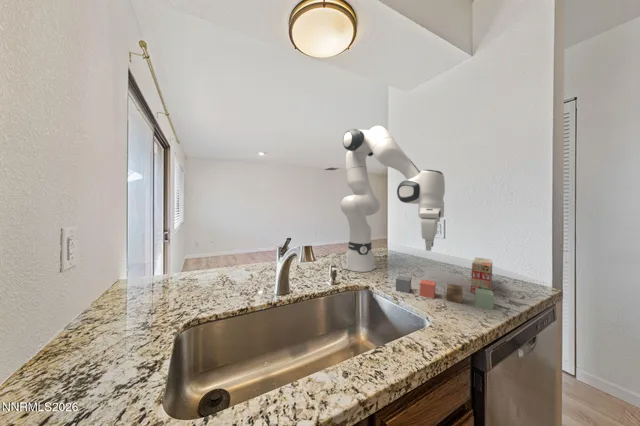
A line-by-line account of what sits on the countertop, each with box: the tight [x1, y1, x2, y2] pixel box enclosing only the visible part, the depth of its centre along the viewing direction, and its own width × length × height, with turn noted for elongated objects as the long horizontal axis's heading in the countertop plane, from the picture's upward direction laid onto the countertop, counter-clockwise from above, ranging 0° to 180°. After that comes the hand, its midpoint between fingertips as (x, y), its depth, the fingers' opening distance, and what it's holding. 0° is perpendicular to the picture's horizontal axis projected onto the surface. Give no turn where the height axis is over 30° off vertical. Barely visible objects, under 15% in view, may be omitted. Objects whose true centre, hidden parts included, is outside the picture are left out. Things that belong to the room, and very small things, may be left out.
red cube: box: [419, 279, 437, 299], centre depth 92 cm, size 5×5×5 cm
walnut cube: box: [445, 283, 464, 305], centre depth 88 cm, size 5×5×5 cm
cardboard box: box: [470, 257, 493, 294], centre depth 102 cm, size 21×6×12 cm, turn 142°
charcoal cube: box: [395, 275, 412, 294], centre depth 97 cm, size 5×5×5 cm
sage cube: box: [474, 288, 495, 310], centre depth 83 cm, size 5×5×5 cm
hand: (429, 248), depth 91 cm, fingers open, 8 cm apart
